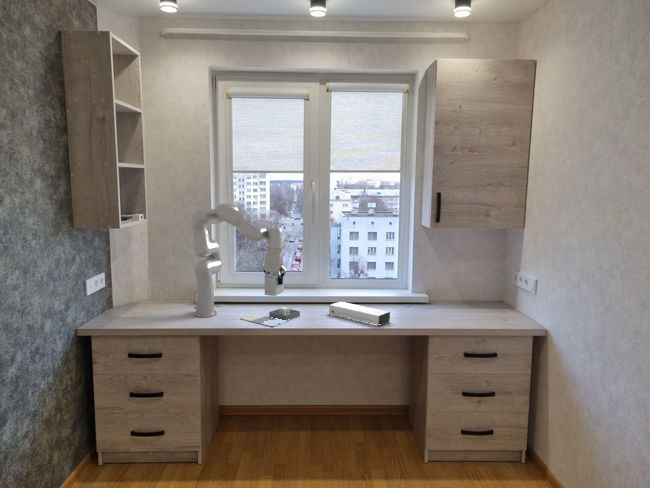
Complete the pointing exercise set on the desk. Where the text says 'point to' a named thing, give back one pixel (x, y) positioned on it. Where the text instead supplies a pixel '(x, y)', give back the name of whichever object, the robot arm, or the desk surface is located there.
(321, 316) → the desk surface
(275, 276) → the light bulb box
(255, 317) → the track mat
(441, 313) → the desk surface
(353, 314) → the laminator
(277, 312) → the dice tray
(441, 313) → the desk surface
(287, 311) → the die
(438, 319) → the desk surface
